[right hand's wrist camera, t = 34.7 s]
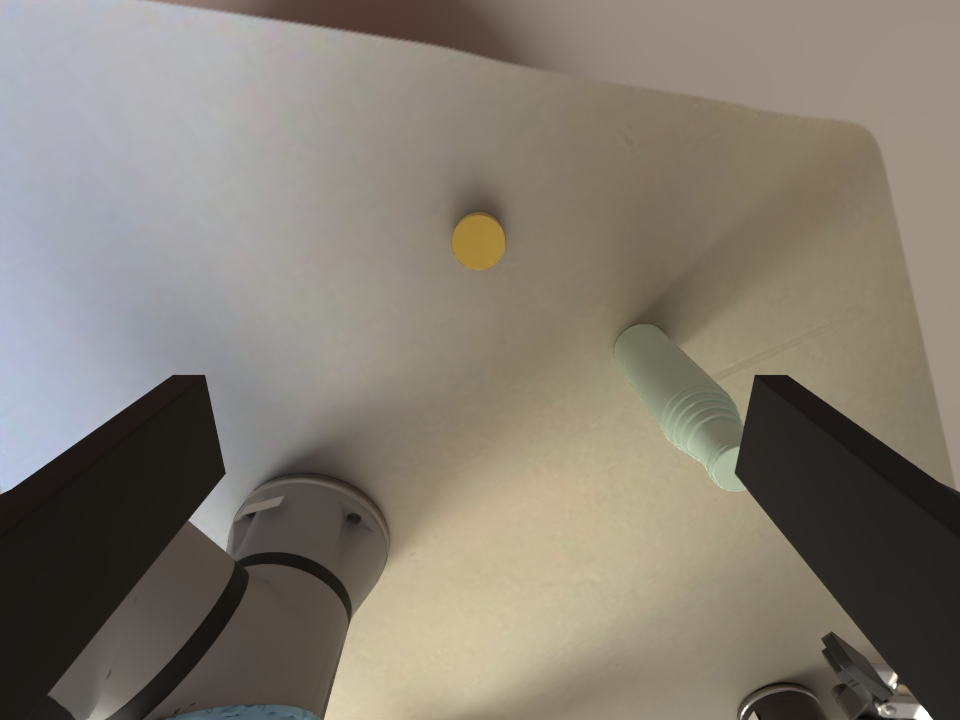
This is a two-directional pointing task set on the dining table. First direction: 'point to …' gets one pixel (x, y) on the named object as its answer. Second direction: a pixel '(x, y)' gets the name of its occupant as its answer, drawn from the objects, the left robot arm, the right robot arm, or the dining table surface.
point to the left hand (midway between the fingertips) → (902, 605)
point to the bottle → (683, 401)
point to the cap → (478, 241)
